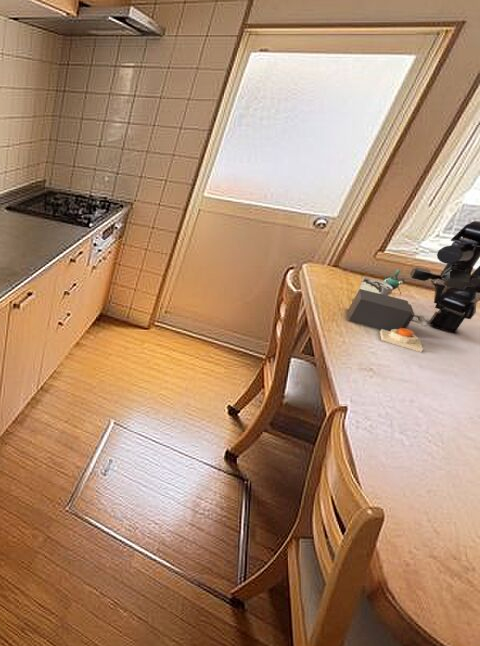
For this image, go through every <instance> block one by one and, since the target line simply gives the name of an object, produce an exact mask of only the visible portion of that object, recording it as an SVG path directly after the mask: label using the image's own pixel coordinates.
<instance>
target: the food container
mask: <svg viewBox="0 0 480 646" xmlns="http://www.w3.org/2000/svg"><path fill="white" fill-rule="evenodd" d="M359 289H362V290H366V291H370V292H374V293H378V294H382V295H386V296H387V295H388V296H390V295H392V293H393V289H392V286H390V285H389V284H386V283H384V282H383V281H382V280H378V279H374V278H370V277H363V278H362V279H361V283H360V285H359V288H358V289H357V292H356V294H355V296H356V295H357V293H358V291H359Z"/></svg>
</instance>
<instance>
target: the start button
mask: <svg viewBox="0 0 480 646" xmlns="http://www.w3.org/2000/svg"><path fill="white" fill-rule="evenodd" d="M397 333H398V334H400V335H402V336H406V337H412V335H413V334H414V335H415V332H414V331H413V330H411V329H409V328H406V329H405V328H400V329H399V330H398V332H397Z"/></svg>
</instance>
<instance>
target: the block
mask: <svg viewBox="0 0 480 646" xmlns="http://www.w3.org/2000/svg"><path fill="white" fill-rule="evenodd" d="M397 332H398V329H392V330H391V331H387V330H384V329H381V330H379V335H380V339H381V341H383V342H385V343H389V344H393V345H396V346H399V347H403V348H406V349H410V350H413V351H415V352H416V351H417V352H420V353H422V351H424V347H423V345H422V342H421V339H419V338H418V336H416V335H415V333H414V334H413V335H412V337H406V336H402V335H400V334H398V333H397Z"/></svg>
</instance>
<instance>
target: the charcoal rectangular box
mask: <svg viewBox="0 0 480 646" xmlns="http://www.w3.org/2000/svg"><path fill="white" fill-rule="evenodd" d="M358 290H359V291H358ZM358 290H357V292H358V293H357V292H356V294H357V295H356V294H355V295H354V298H353V300H352V302H351V304H350V305H349V307H348V309H347V319H348V320H347V321H348V322H351V323H354V324H358V325H361V326H364V327H368V328H372V329H375V330H378V331H381V329H384V330H387V331H391V330H392V329H398V330H399V329H400V328H402V327H403V325H404V324H405V322H406V321H407V319H408V318H409V316H410V314H411V313H412V312H411V309H410V306H409V304H410V303H409V300H405V299H402V298H397V297H394V296H390V295H388V296H386V295H382V294H378V293H374V292H370V291H366V290H362V289H359V288H358Z"/></svg>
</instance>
